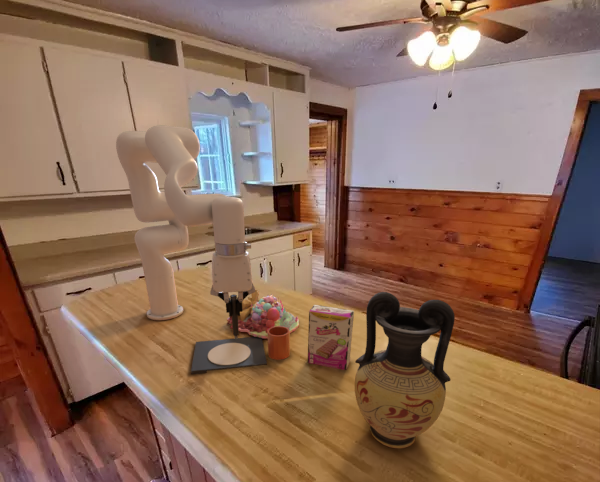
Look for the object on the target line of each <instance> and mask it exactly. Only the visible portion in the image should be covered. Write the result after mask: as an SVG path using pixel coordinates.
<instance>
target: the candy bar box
mask: <svg viewBox="0 0 600 482" xmlns="http://www.w3.org/2000/svg"><path fill="white" fill-rule="evenodd" d="M354 317H355V310H352V309H346V308H339V307H332V306H326V305H320V304H313V306H312V307H311V308H310V309H309V311H308V334H307V336H308V337H307V363H308V364H311V365H317V366H322V367H327V368H331V369H332V368H333V369H339V370H343V371H346V370H347V369H348V367H349V365H350V362H351V352H352V351H351V350H352V340H353V339H352V338H353V327H354Z"/></svg>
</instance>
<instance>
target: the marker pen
mask: <svg viewBox="0 0 600 482" xmlns="http://www.w3.org/2000/svg"><path fill="white" fill-rule="evenodd" d="M229 295H230V296H229V298H230V300H231V309H232V324H231V325H232V326H233V329H232V336H234V339H235V338H239V335H240V333H239V332H240V331H239V329H238V315H237V297H238V294H229Z"/></svg>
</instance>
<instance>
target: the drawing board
mask: <svg viewBox="0 0 600 482" xmlns="http://www.w3.org/2000/svg"><path fill="white" fill-rule="evenodd" d="M267 365H268V361H267V357H266V351H265V346H264V342H263V338H260V337H255V336H248V337H238V338H235V337H234V338H225V339H223V338H222V339H213V340H200V341H195V344H194V351H193V357H192V363H191V369H190V375H197V374H206V373H207V372H211V371H212V372H213V371H221V370H229V369H230V370H231V369H239V368H240V369H241V368H249V367H261V366H267Z"/></svg>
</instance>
